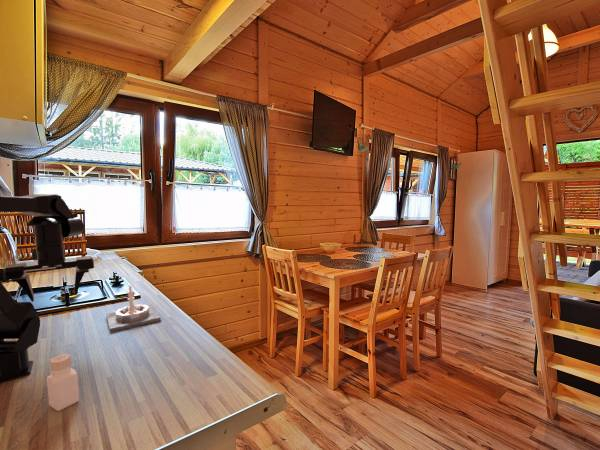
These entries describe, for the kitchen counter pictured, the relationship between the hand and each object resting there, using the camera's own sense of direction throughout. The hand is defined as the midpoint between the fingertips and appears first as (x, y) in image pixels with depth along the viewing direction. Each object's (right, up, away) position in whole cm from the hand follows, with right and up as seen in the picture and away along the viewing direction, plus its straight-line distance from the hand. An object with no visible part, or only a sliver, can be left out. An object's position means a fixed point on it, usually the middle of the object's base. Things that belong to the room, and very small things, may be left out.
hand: (55, 297), depth 85 cm
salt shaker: (+20, -16, -23) cm, 35 cm away
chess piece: (+12, -10, +17) cm, 23 cm away
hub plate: (+12, -11, +17) cm, 24 cm away
